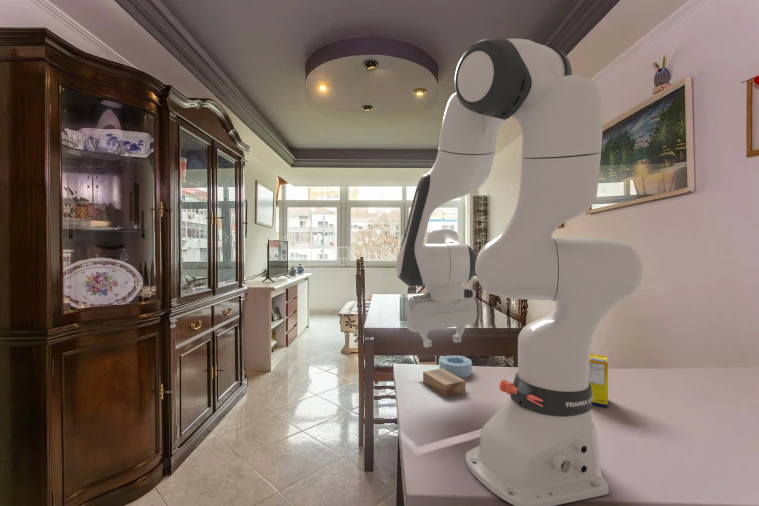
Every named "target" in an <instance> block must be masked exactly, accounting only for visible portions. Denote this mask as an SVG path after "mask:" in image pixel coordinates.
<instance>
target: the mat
mask: <svg viewBox="0 0 759 506" xmlns="http://www.w3.org/2000/svg"><path fill="white" fill-rule="evenodd" d="M418 383H419V384H420V385H422V386H423V387H425V388H426V389H428V390H429V391H431V392H432V393H434V394H435V395H437V396H438V397H440V398H441V399H443V400H449V399H454V398H460V397H462V396H467V395H471V393H470V392H469V391H467V390H465V393H462V394H458V395H453V396H449V397H444V396H443V395H441V394H439V393H438V392H436V391H435V390H433V389H432V388H430V387H429V386H427V385H426V384H424V383H423V380H422V381H418Z"/></svg>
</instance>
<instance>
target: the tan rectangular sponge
mask: <svg viewBox="0 0 759 506" xmlns="http://www.w3.org/2000/svg"><path fill="white" fill-rule="evenodd" d="M422 381H423V383H424V384H426V385H427V386H429V387H430V388H432V389H433V390H435V391H436V392H438V393H439V394H441V395H443V396H444V397H449V396H453V395H458V394H462V393H465V391H466V380H465V379H464V378H459V377H457V376H455V375H453V374H452V373H450V372H448V371H446V370H444V369H439V368H438V369H437V368H436V369H432V370H431V369H430V370H426V371H425V370H424V371H423V372H422Z"/></svg>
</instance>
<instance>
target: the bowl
mask: <svg viewBox="0 0 759 506" xmlns="http://www.w3.org/2000/svg"><path fill="white" fill-rule="evenodd" d="M438 360H439V361H438V362H439V363H438V364H439V366H438V369H444V370H446V371H448V372H450V373H452V374H453V375H455V376H457V377H459V378H461V379H464V378H469V377H470V376H472V375H473V362H472V359H470V358H468V357H466V356H460V355H444V356H441V357H440V358H439V359H438Z"/></svg>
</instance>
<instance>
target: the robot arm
mask: <svg viewBox="0 0 759 506" xmlns="http://www.w3.org/2000/svg"><path fill="white" fill-rule="evenodd" d="M572 69H573V68H572V65H571V62H570V60H569V58H568V57H567V56H566V54H565V53H564V52H563V51H561V50H559V49H558V48H557V47H555V46H552V45H549V44H541V43H538V42H535V41H532V40H531V39H526V38H505V37H500V36H499V37H498V36H497V37H490V38H486V39H481V40H480V41H477V42H475V43H473V44H472V45H471V46H469V47H468V48H467V49H466V50H465V52H464V53H463V54H462V55H461V57H460V59H459V61H458V62H457V65H456V69H455V74H454V91H455V93H453V94H452V95H451V96H450V97H449V99H448V100H447V104H446V107H445V110H444V115H443V118H442V123H441V126H440V127H441V128H440V131H439V132H440V133H439V140H438V149H437V155H436V158H435V161H434V163H433V165H432V167H431V168H430V170H429V171H428V172H427V173H425V174H423V175H422V176H421V177H420V179H419V180H418V183H417V186H416V189H415V192H414V196H413V199H412V203H411V208H410V210H409V211H410V212H409V215H408V220H407V224H406V227H405V230H404V231H405V232H404V235H403V239H402V243H401V244H400V249H399V252H398V254H397V257H396V263H395V267H396V272H397V273H396V274H397V277H398V279H399V280H400V281H401V282H402V283H404V284H405V285H407V286H408V287H409V288H412V287H421V286H422V287H423V286H425V287H424V288H425V293H421V294H417V293H415V294H413V295H412V296H411V297H409V299H408V300H407V314H406V327H407V329H408V330H409V331H411V332H413V333H419V335H420V337H421V338H422V339H421V340H422V341H423V343H422V344H423V347H424V348H431V347H433V345H432V343H433V341H432V340H431V339H429V338H428V335H429V331H434V330H440V329H441V330H442V329H447V328H449V329H450V328H453V327H454V328H456V331H455V334H452V341H453V342H454V343H456V344H457V343H461V342H462V336H463V334H464V332H465V330H466V326H468V325H470V326H471V325H475V323H476V321H477V320H478V318H477V317H478V315H477V314H478V311H477V308H478V307H477V302H476V300H475V298H476V295H477V294H476V293H477V292H476V290H475V289H472V288H469V287H466V286H463V285H461V284H466V283H469V282H470V281H471V280H473V278H474V277H475V275H476V279H477V283H478V284H479V285H480V287H481V288H482V289H483V291H485V292H486V293H487V294H490V295H493V296H498V297H503V298H507V299H512V300H529V301H530V300H531V301H533V300H535V301H553V302H555V304H554V307H553V309H552V310H551V312H550V313H549V314H548V315H546V316H543V317H541V318H539V319H536V320H534V321H531V322H529V323H528V324H526V325H525V326H524V327H523V328H522V329H521V331H520V332H519V334H518V337H517V372H516V373H515V377H514V380H513V382H509V381H508V380H507V379H502V380H500V383H499V386H498V387H499V390H500V391H501V392H504V393H506V394H507V395H509V396H510V397H509V398H508V399H507V401H506V402H505V403H504V404H503V405H501V407H500V408H499V409H498V410H497V411H496V412H495V413H494V414H493V415H492V417H490V419H489V420H487V422H486V423H485V424H483V426H482V429H481V431H480V437H479V445H477V446H475V447H473V448H472V449H470V450H467V451H466V453H465V457H464V460H465V464H466V466H467V468H468V469H469V471H470V472H471V474H473V476H474V477H475V478H476V479H478V481H479V482H480V483H481V484H482V485H483V486H485V487H486V488H487V489H488V490H489V491H490V492H492V493H493V494H495V495H496V496H497V497H499V498H501V500H503V501H505V502H507V503H509V504H510V505H513V506H558V505H563V504H567V503H574V502H578V501H582V500H583V501H584V500H588V499H592V498H597V497H600V496H607V495H609V494H610V490H609V483H608V481H607V480H606V479H605V477H604V476H603V472H602V463H601V462H602V461H601V453H600V445H599V435H598V431H597V429H596V426H595V425H594V422H593V418H592V416H591V410H592V408H593V405H592V400H593V394H592V387H591V385H590V384H589V361H590V354H591V350H592V342H593V339H594V334H595V332H596V330H597V328H598V326H599V325H600V323H601V321H602V320H603V319H604V317H606V315H608V313H609V312H610V311H611V310H612V309H614V307H616V306H617V305H618V304H620V303H621V302H623V301H624V300H627V299H628V298H630V297H631V296H633V294H634V293H635V292H636V291H637V289H639V287H640V285H641V282H642V279H643V274H644V271H643V270H644V269H643V263H642V261H641V257H640V256H639V254H638V253H637V251H636V250H635V248H633V247H632V246H631V245H630V244H629V243H627V242H624V241H620V240H616V239H609V238H601V237H594V236H593V237H552V236H553V234H554V233H555V231H556V230H558V228H559V227H560V226H561V225H563V224H564V223H566V222H569V221H570V220H573V219H575V218H577V217H579V216H581V215H583V214H584V213H586V212H587V211H588V210H589V209H590V208H591V207H592V206H593V205H594V203H595V201H596V199H597V196H598V187H599V176H600V167H601V157H602V146H603V109H602V100H601V99H602V98H601V93H600V88H599V86H598V84H597V83H596V82H595V81H593V79H590V78H588V77H586V76H581V75H574V74H573V70H572ZM511 117H512V118H513V119H515V120H516V121H517V122H518V123H519V125H520V128H521V135H522V144H521V145H522V146H521V147H522V148H521V166H520V167H521V169H520V182H519V190H518V192H519V193H518V198H517V203H516V208H515V210H514V212H513V214H512V216H511V218H510V220H509V222H508V223H507V225H506V226H505V227H504V228H503V230H501V232H500V233H499V234H498V235H497V236H495V237H494V238H493V239H491V240H489V241H488V242H487V243H485V245H483V247H482V248H481V249H480V250H479V252H478V255H477V253H476V252H475V251H474V249H472V247H471V246H469V244H464V243H463V242H461V241H460V240H459V234H458V232H457V231H456V230H453V229H445V228H444V229H437V230H431V231H430V232H429V233H428V234H427V238H426V243H424V241H425V240H424V239H425V236H426V233H427V229H428V226H429V221H430V218H431V215H432V214H433V213H434V212H435V210H436V209H437V208H439V207H441V206H443V205H445V204H446V203H449V202H450V201H453V200H456V199H459V198H461V197H464V196H467V195H469V194H471V193H473V192H475V191H476V190H478V189H479V188H481V187H482V186H483V185H484V184H485V182H486V181H487V180H488V179H489V177H490V174H491V171H492V169H493V165H494V164H493V163H494V160H495V159H494V158H495V154H496V147H497V139H498V135H499V130H500V127H501V126H502V124H503V123H504V121H507V120H508V119H510V118H511Z"/></svg>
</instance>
